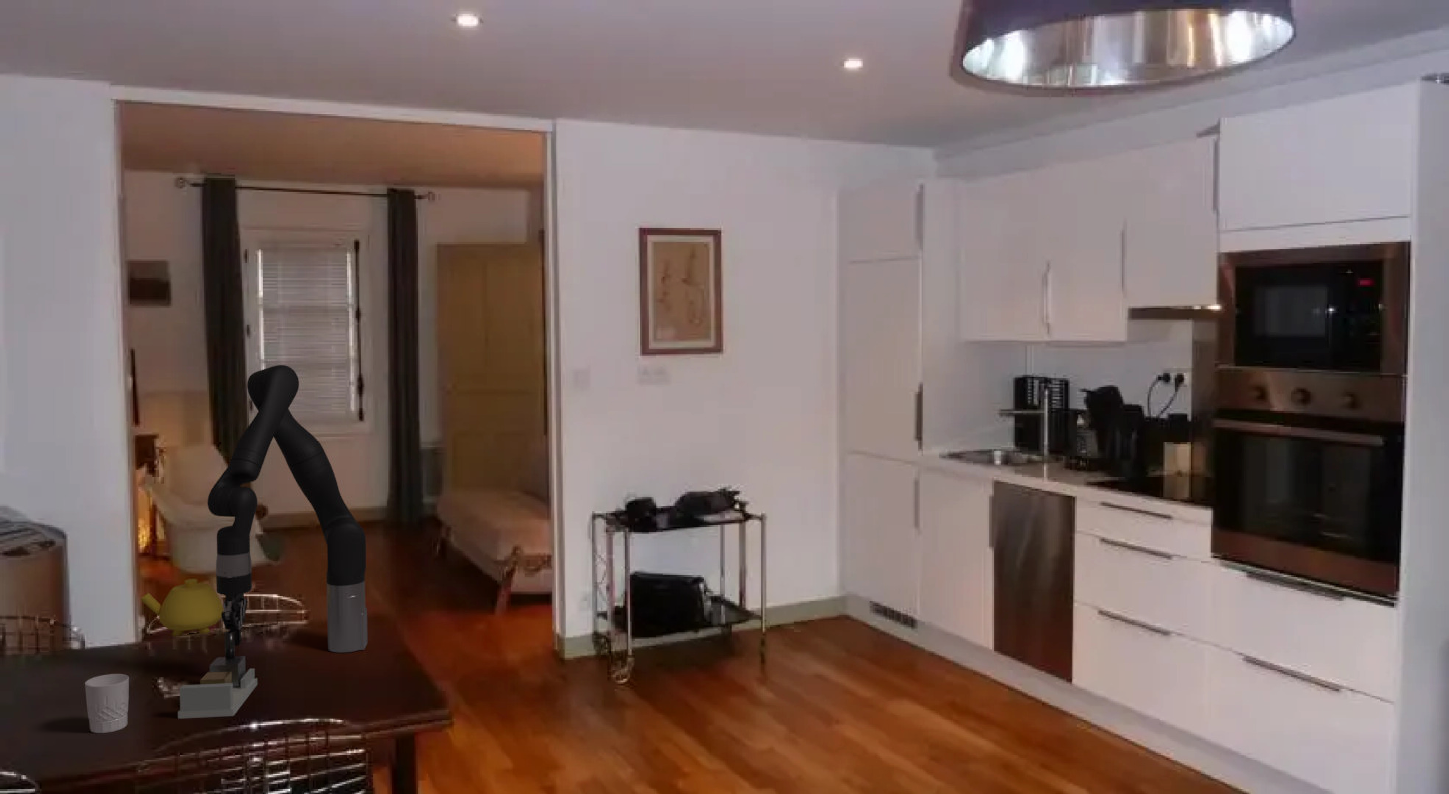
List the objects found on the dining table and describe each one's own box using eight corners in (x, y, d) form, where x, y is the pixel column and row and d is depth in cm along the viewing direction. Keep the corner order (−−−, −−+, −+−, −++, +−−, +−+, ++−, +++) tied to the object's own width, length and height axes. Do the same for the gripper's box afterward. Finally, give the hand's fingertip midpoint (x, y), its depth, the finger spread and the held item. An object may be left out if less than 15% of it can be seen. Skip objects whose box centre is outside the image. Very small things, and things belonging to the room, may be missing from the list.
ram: (218, 678, 251) (216, 631, 250) (245, 677, 252) (244, 630, 251) (210, 687, 245) (208, 639, 244) (238, 686, 246) (237, 638, 245)
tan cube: (232, 693, 242) (231, 671, 242) (225, 701, 237) (224, 679, 237) (208, 694, 241) (207, 672, 241) (200, 702, 236) (200, 680, 236)
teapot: (136, 642, 284) (135, 590, 283) (146, 626, 299) (144, 576, 298) (221, 635, 291) (220, 584, 290) (226, 619, 305) (224, 571, 304)
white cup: (120, 717, 232) (119, 671, 231) (137, 726, 227) (135, 679, 226) (80, 728, 225) (78, 680, 225) (96, 737, 220) (94, 689, 220)
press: (207, 685, 252) (207, 657, 251) (258, 683, 254) (257, 655, 253) (178, 718, 231) (177, 688, 231) (233, 716, 233) (232, 686, 232)
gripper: (225, 565, 260) (226, 637, 261) (208, 578, 247) (209, 654, 248) (258, 564, 261) (259, 636, 263) (243, 578, 248) (244, 652, 250)
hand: (235, 644), depth 255 cm, fingers closed
